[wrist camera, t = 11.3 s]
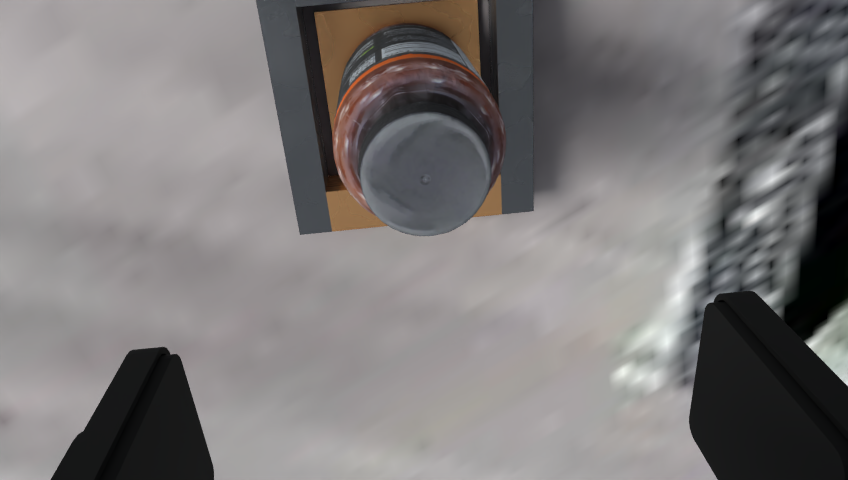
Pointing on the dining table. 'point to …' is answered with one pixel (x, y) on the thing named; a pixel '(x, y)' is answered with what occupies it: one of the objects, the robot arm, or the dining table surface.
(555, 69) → the dining table surface
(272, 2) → the grey rectangular frame
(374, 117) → the supplement bottle
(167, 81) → the dining table surface
